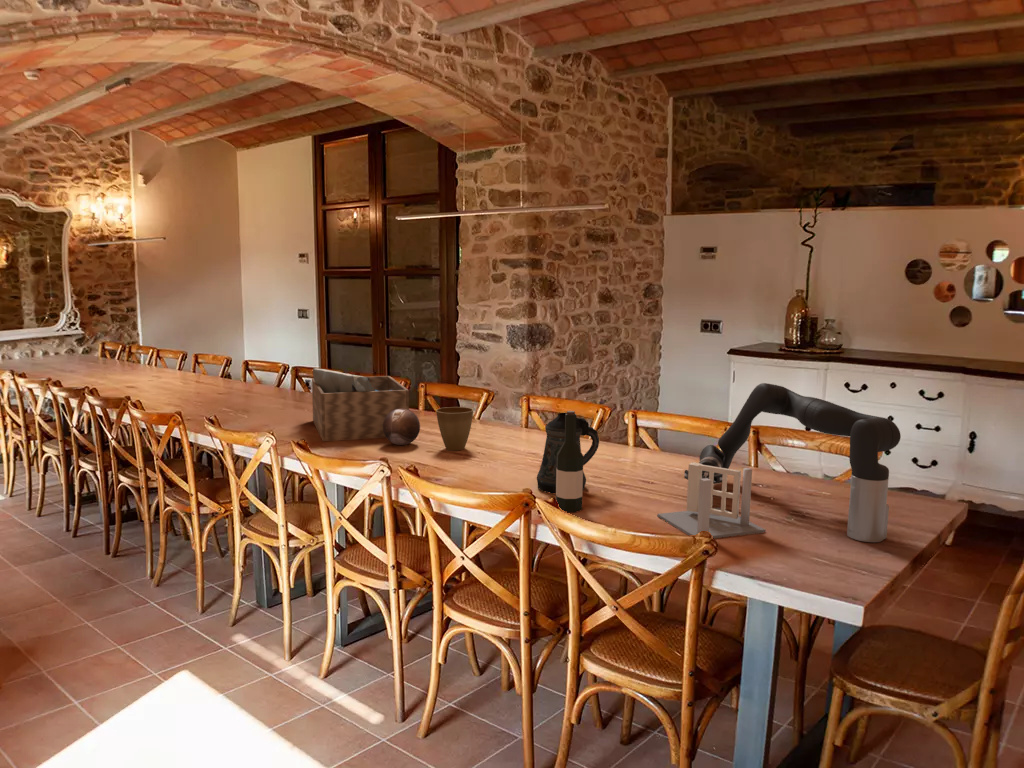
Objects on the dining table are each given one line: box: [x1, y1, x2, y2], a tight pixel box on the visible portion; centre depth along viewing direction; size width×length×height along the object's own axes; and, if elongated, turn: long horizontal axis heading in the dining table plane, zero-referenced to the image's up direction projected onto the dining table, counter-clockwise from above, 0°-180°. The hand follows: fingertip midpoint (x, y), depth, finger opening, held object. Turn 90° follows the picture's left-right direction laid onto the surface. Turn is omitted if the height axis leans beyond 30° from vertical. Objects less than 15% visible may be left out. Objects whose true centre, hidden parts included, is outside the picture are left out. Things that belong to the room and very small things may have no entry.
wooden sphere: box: [383, 408, 421, 446], centre depth 319 cm, size 15×15×15 cm
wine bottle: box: [555, 410, 584, 513], centre depth 236 cm, size 8×8×30 cm
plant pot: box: [435, 406, 474, 452], centre depth 313 cm, size 15×15×16 cm
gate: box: [686, 461, 742, 519], centre depth 227 cm, size 15×3×14 cm, turn 54°
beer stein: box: [536, 412, 600, 494], centre depth 259 cm, size 16×19×25 cm
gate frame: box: [657, 467, 766, 539], centre depth 223 cm, size 22×22×17 cm
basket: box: [312, 367, 391, 393], centre depth 350 cm, size 40×31×28 cm
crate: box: [311, 375, 410, 442], centre depth 350 cm, size 36×45×20 cm
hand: (699, 482), depth 238 cm, fingers closed
